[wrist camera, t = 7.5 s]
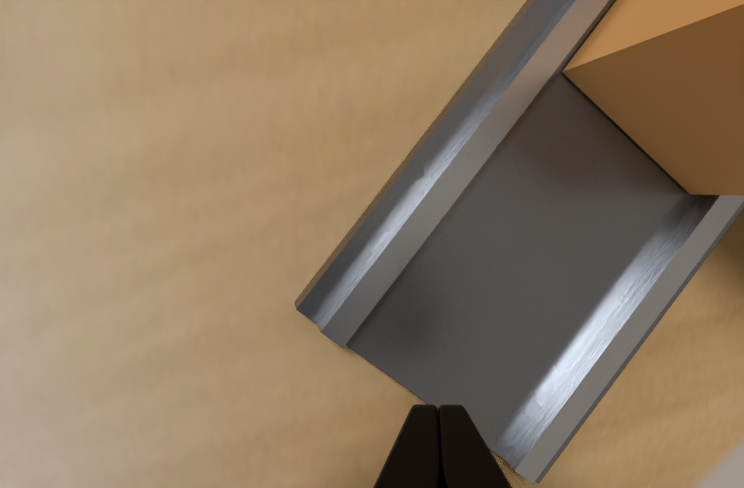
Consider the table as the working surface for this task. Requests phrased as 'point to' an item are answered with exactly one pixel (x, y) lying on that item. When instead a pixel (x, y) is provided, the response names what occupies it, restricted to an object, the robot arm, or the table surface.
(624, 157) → the grey stand with block
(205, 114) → the table surface
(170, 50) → the table surface
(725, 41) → the orange padlock
